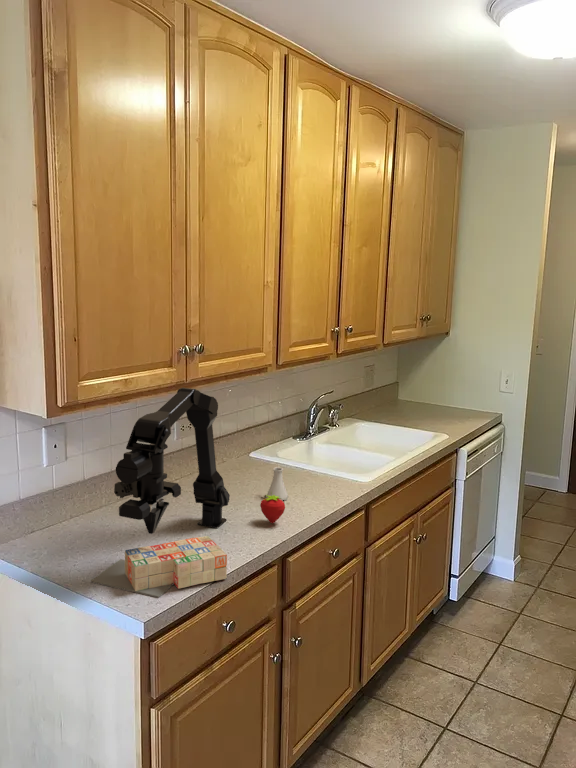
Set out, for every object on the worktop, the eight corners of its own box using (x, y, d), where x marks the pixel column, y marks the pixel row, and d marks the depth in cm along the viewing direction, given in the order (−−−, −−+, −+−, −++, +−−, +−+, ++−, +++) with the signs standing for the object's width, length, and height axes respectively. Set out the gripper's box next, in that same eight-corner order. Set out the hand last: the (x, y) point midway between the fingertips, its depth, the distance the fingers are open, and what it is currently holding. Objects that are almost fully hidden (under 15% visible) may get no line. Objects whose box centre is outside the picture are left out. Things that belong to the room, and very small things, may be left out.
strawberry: (279, 529, 184) (280, 496, 182) (256, 524, 187) (257, 491, 185) (287, 522, 190) (289, 490, 188) (264, 517, 192) (265, 485, 191)
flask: (281, 504, 204) (282, 473, 202) (261, 499, 207) (262, 469, 206) (292, 497, 210) (293, 468, 208) (273, 492, 214) (274, 463, 212)
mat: (120, 560, 162) (120, 559, 161) (184, 574, 156) (184, 573, 156) (91, 582, 150) (90, 580, 150) (158, 597, 145) (158, 596, 144)
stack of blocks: (124, 574, 154) (138, 597, 143) (124, 549, 153) (138, 571, 142) (208, 558, 164) (227, 579, 154) (208, 535, 163) (227, 554, 152)
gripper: (143, 455, 163) (143, 514, 166) (98, 477, 146) (99, 542, 149) (182, 461, 159) (181, 521, 162) (140, 484, 142) (141, 551, 145)
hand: (151, 533), depth 155 cm, fingers closed
